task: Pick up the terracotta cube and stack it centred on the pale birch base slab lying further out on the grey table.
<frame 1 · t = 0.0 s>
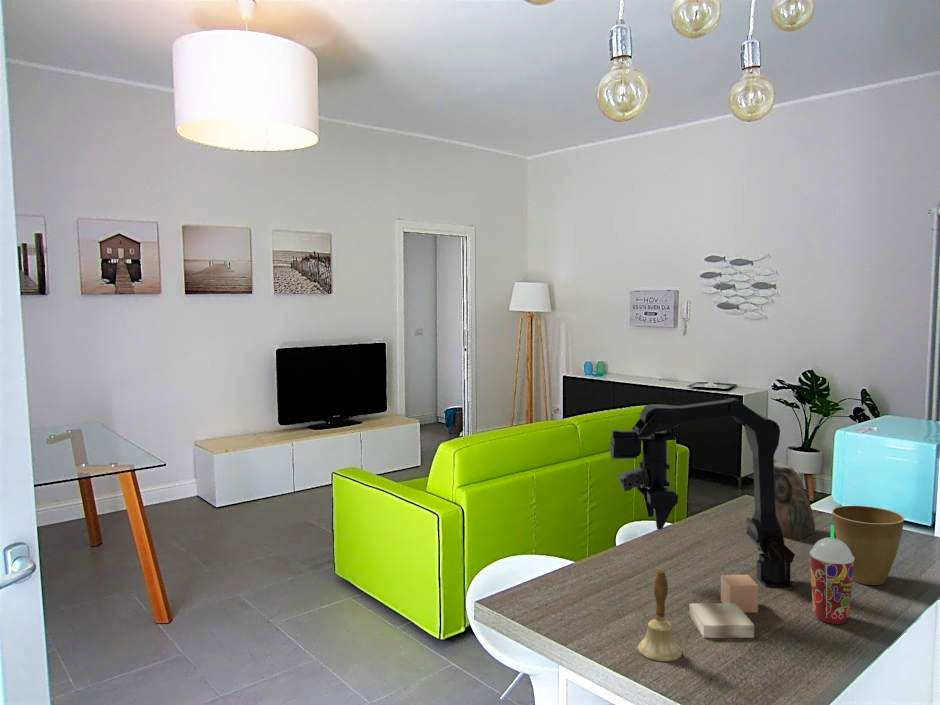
hand: (654, 522, 164), 15 cm above the table, fingers open, 9 cm apart
plant pot: (865, 579, 164), on the table
owl: (792, 533, 197), on the table
base: (720, 627, 143), on the table
cube: (739, 606, 151), on the table
smoothie: (830, 619, 145), on the table
hand bell: (659, 651, 133), on the table
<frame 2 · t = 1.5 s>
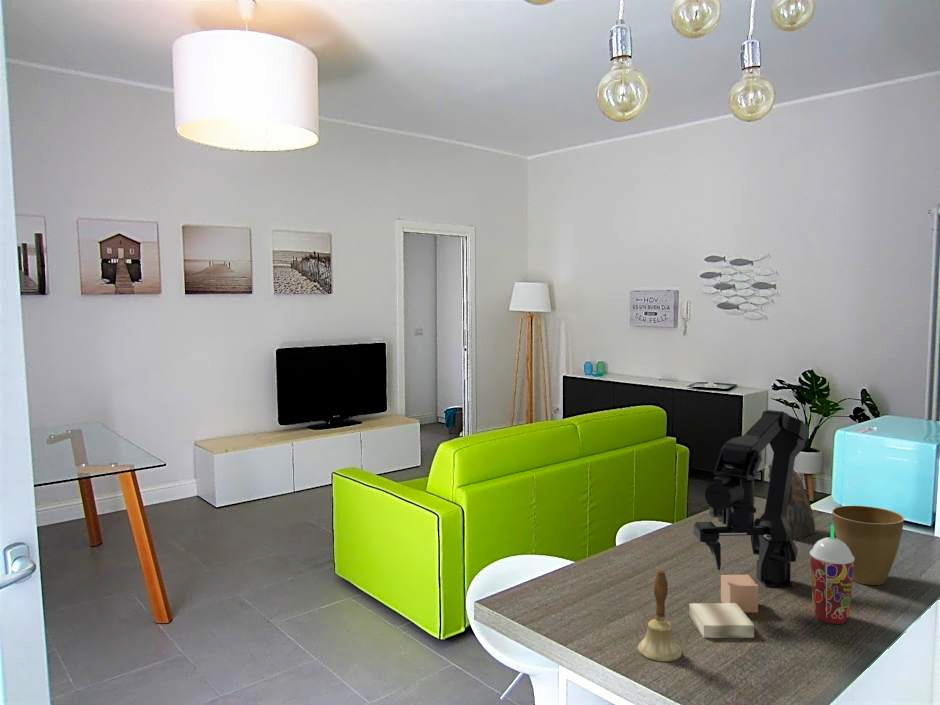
hand: (739, 569, 151), 8 cm above the table, fingers open, 9 cm apart
nothing on the table moved.
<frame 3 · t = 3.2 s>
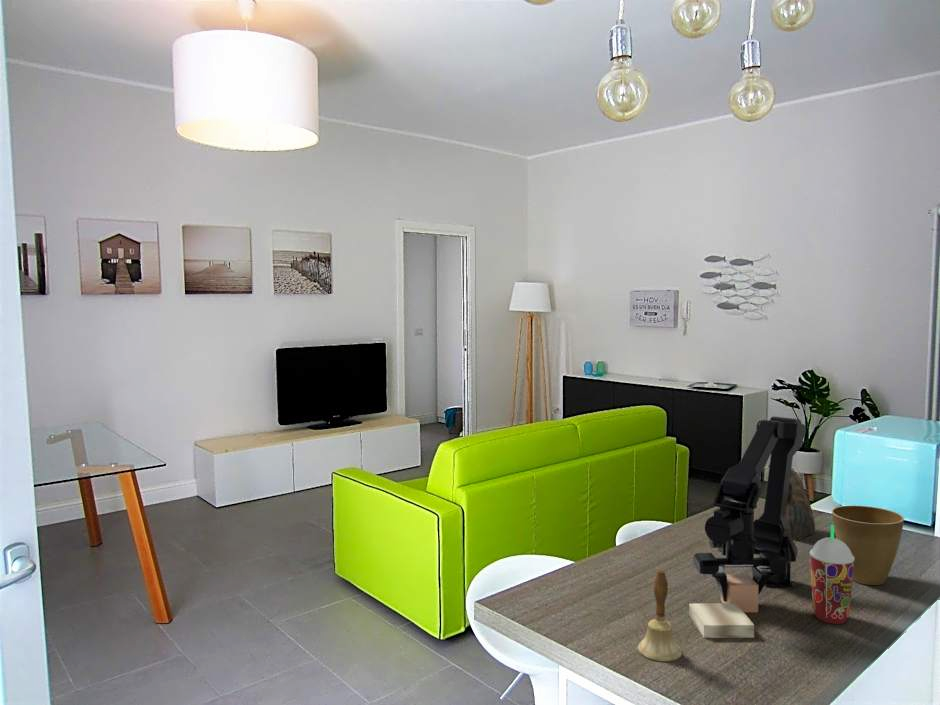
hand: (739, 600, 151), 1 cm above the table, fingers closed on cube, 6 cm apart
cube: (739, 606, 151), on the table, touching gripper
everything else where it was.
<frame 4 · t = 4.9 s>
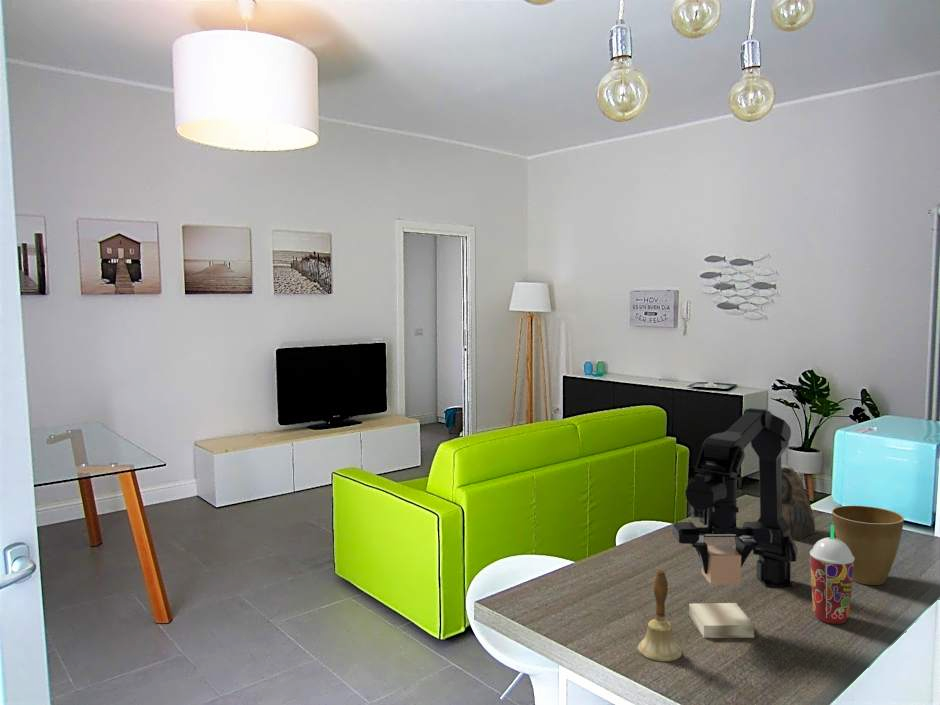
hand: (720, 573, 142), 11 cm above the table, fingers closed on cube, 6 cm apart
cube: (720, 578, 142), point 10 cm above the table, touching gripper
everything else where it was.
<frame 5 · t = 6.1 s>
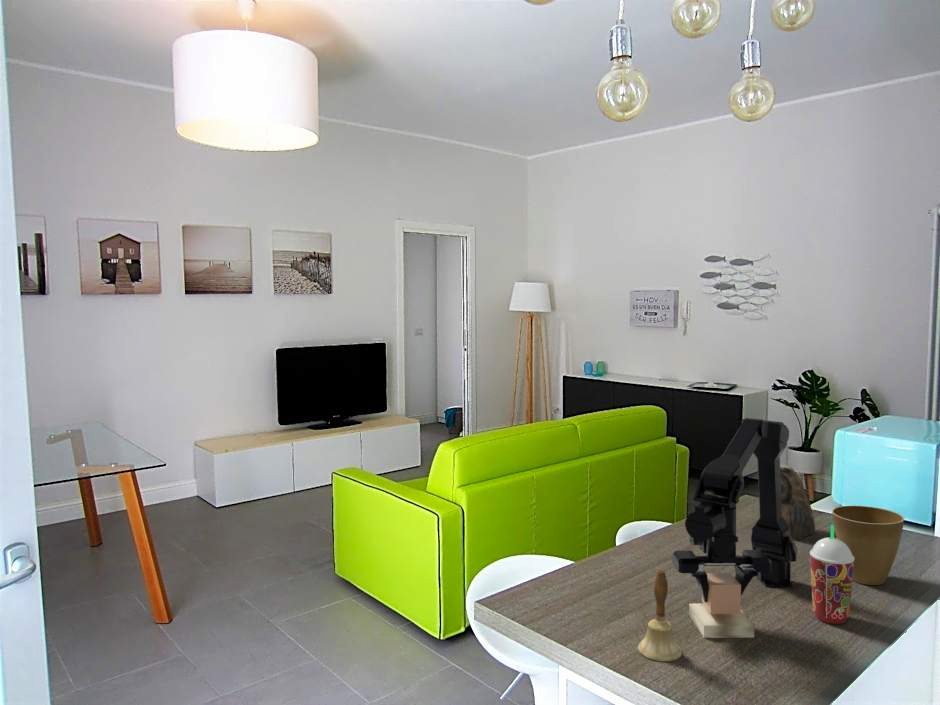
hand: (720, 601, 142), 5 cm above the table, fingers closed on cube, 6 cm apart
cube: (720, 607, 142), point 4 cm above the table, touching gripper
everything else where it was.
when the fingers open (5 cm above the table, at t = 6.8 s): cube drops 2 cm, resting on base.
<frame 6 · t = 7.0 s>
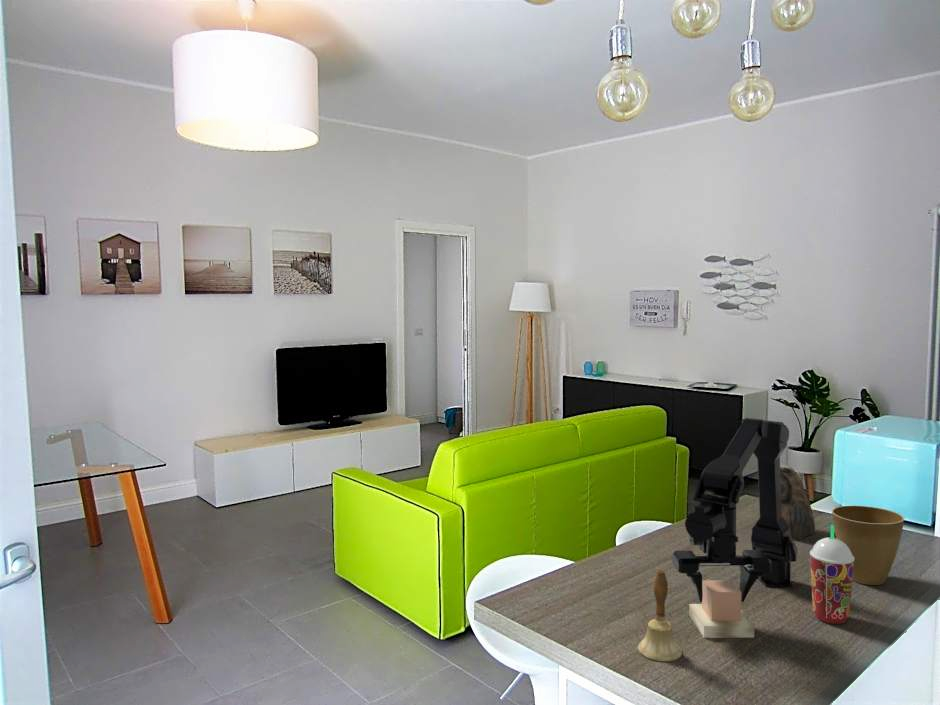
hand: (720, 601, 142), 5 cm above the table, fingers open, 8 cm apart
base: (720, 628, 143), on the table, touching cube
cube: (721, 614, 143), point 2 cm above the table, touching base
everything else where it was.
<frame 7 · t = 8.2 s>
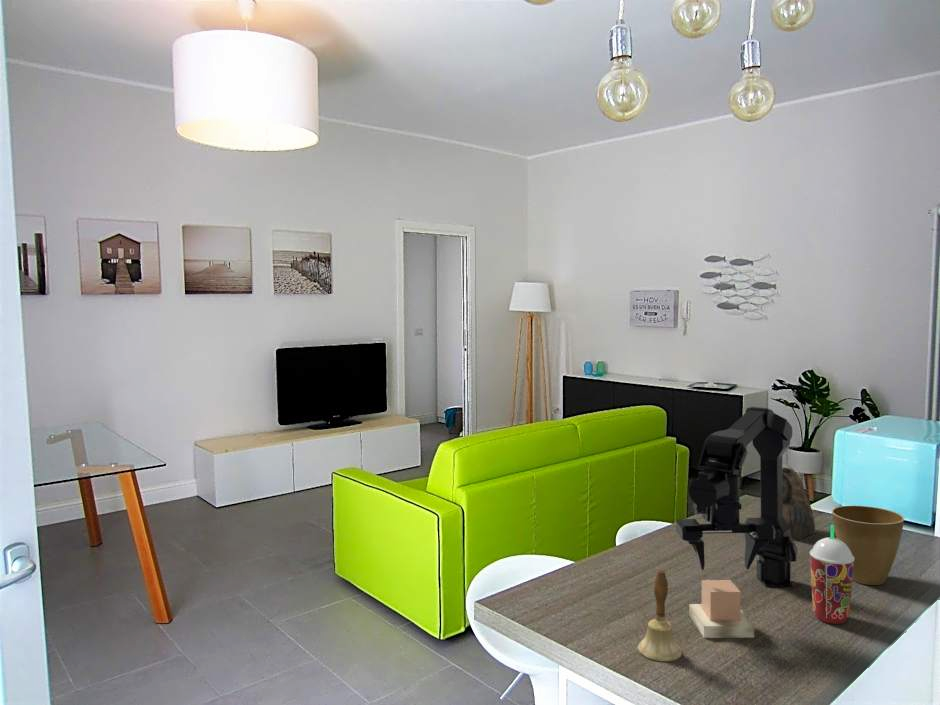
hand: (724, 569, 143), 12 cm above the table, fingers open, 9 cm apart
nothing on the table moved.
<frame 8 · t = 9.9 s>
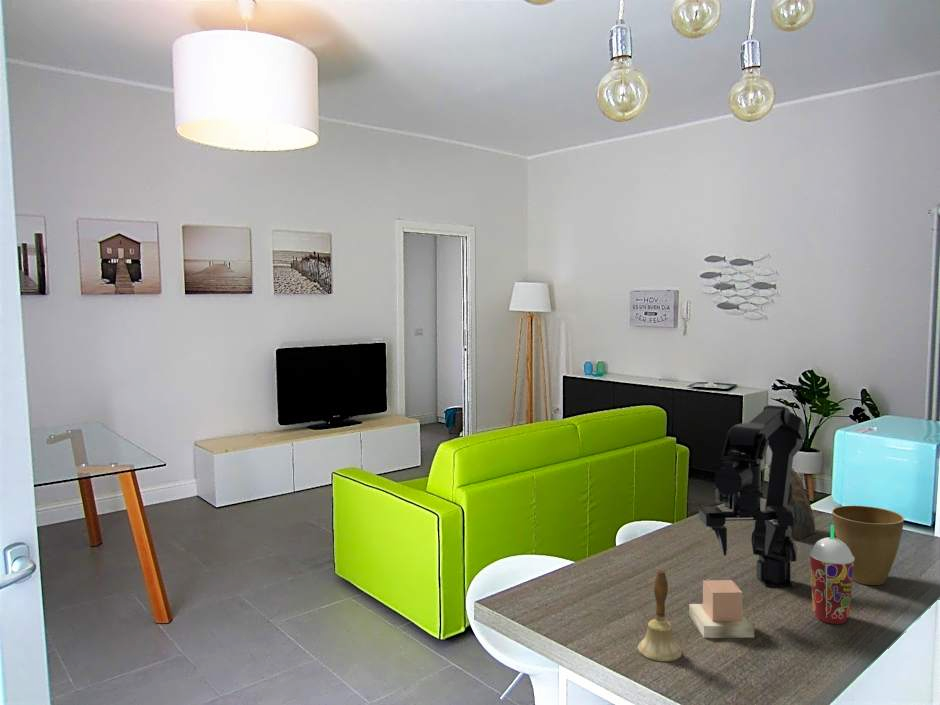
hand: (745, 554, 150), 12 cm above the table, fingers open, 9 cm apart
base: (720, 628, 143), on the table
cube: (722, 614, 142), point 2 cm above the table
everything else where it was.
at the end: cube 0.4 cm off-centre on the base, point 3.0 cm above the base's base; cube tilted 0°; the gripper is holding nothing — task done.
